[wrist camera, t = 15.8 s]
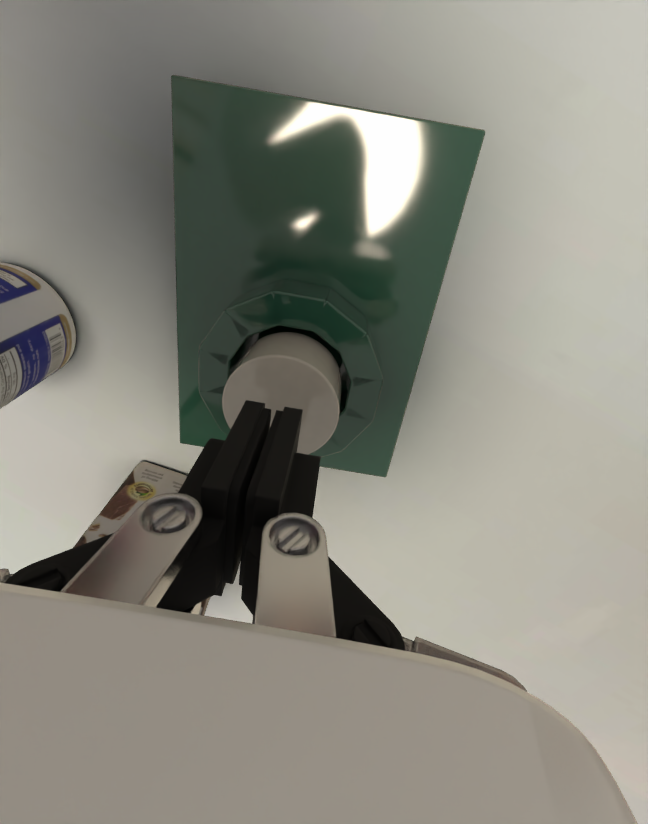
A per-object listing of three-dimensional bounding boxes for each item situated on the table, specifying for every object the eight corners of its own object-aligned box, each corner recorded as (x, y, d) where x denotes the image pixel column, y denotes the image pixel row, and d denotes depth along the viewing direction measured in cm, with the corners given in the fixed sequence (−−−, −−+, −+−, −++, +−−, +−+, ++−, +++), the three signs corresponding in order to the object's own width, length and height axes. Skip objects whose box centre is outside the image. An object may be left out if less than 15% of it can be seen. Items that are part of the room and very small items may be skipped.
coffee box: (136, 456, 23) (-211, 893, 9) (247, 493, 24) (88, 950, 10) (117, 561, 27) (-135, 964, 13) (212, 589, 28) (67, 1000, 14)
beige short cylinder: (241, 322, 15) (223, 345, 13) (350, 341, 15) (349, 367, 13) (236, 416, 17) (219, 449, 15) (332, 433, 17) (329, 467, 15)
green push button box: (192, 86, 15) (141, 57, 11) (471, 135, 15) (506, 122, 11) (193, 422, 22) (162, 469, 18) (384, 454, 22) (388, 506, 18)
